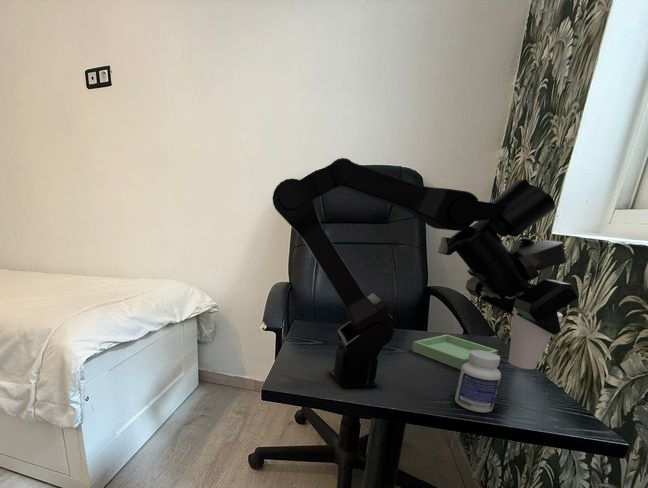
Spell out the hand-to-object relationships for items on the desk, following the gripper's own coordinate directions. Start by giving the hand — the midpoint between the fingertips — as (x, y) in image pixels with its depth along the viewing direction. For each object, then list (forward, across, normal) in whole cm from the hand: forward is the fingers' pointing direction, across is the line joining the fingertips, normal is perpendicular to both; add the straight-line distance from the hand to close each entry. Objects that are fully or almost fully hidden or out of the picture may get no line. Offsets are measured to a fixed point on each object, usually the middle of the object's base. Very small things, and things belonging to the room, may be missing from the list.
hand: (542, 326), depth 59 cm
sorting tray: (+6, +16, +12) cm, 21 cm away
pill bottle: (+1, -6, +17) cm, 18 cm away
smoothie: (+4, 0, +6) cm, 7 cm away
